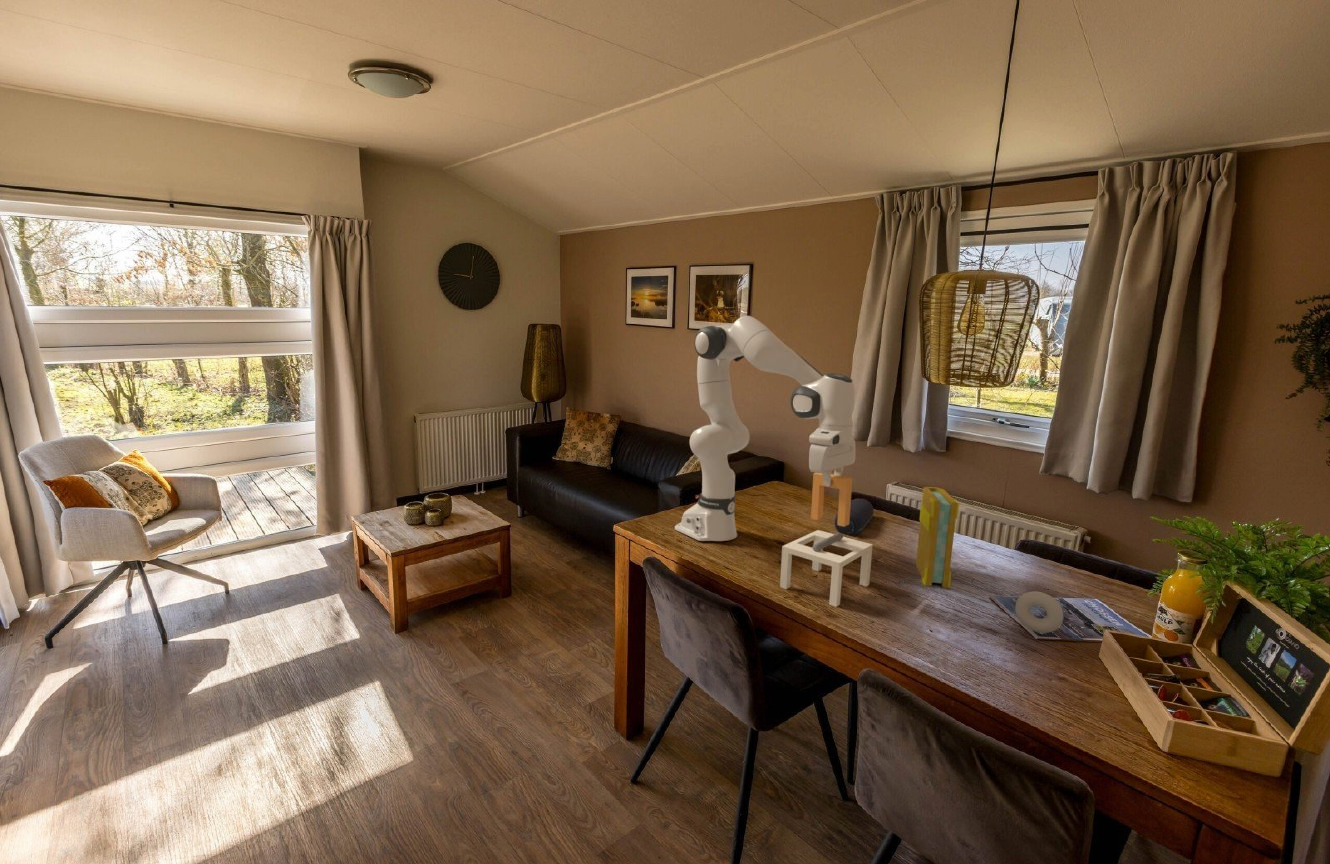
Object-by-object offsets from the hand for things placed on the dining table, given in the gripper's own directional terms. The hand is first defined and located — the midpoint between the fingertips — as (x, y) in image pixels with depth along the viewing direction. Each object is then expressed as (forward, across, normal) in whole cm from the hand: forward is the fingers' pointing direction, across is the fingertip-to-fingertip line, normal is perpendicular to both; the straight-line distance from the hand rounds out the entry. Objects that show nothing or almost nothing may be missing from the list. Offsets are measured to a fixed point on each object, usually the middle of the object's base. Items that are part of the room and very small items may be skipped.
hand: (831, 484), depth 162 cm
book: (+30, -30, +18) cm, 46 cm away
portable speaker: (+30, -53, -17) cm, 63 cm away
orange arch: (+11, 0, 0) cm, 11 cm away
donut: (+30, -13, +49) cm, 59 cm away
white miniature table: (+30, 0, 0) cm, 30 cm away
